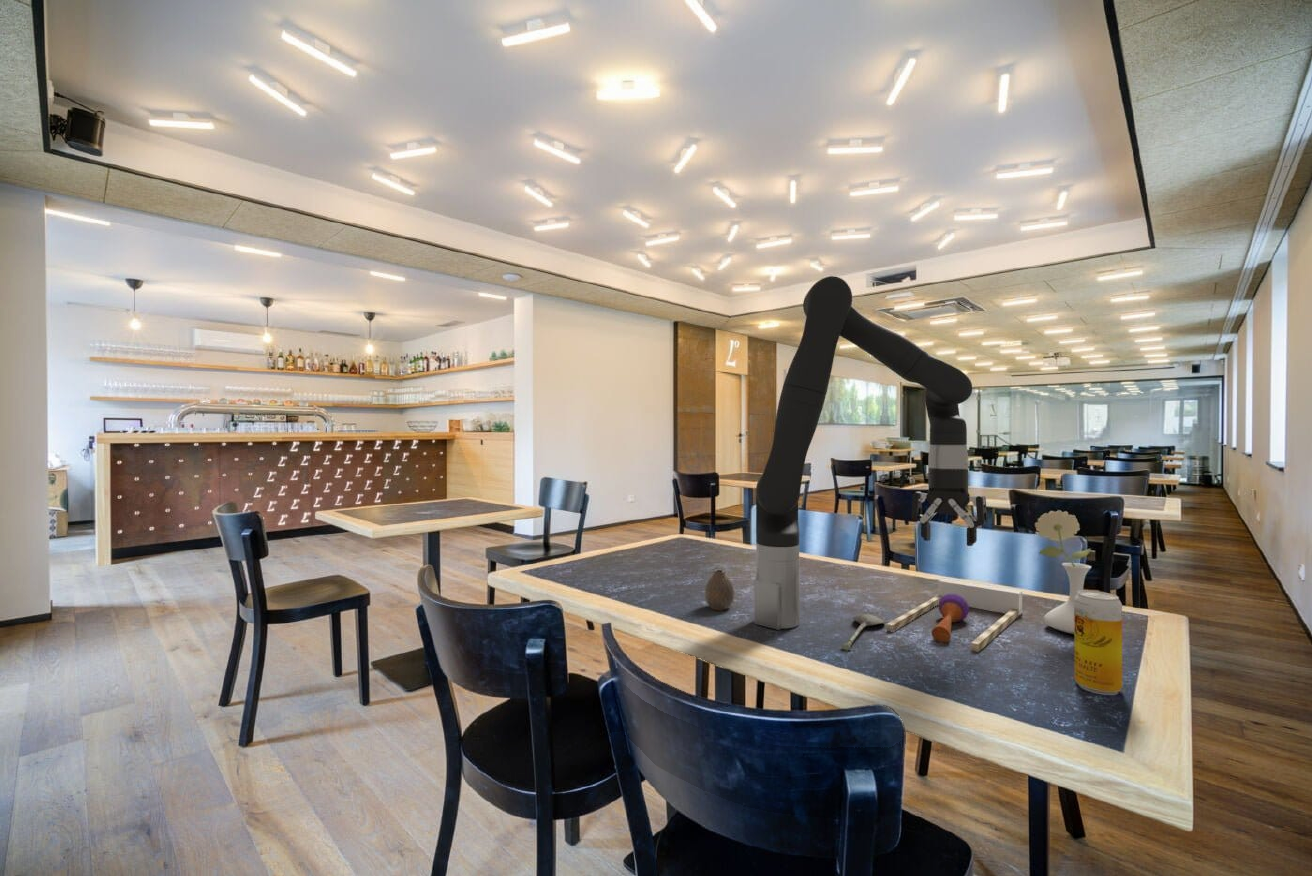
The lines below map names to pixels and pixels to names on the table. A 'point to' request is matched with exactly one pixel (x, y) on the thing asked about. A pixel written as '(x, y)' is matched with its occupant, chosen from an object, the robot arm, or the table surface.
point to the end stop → (983, 595)
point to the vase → (719, 591)
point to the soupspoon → (862, 626)
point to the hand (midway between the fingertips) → (948, 542)
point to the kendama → (950, 615)
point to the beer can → (1098, 642)
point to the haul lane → (975, 645)
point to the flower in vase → (1057, 529)
